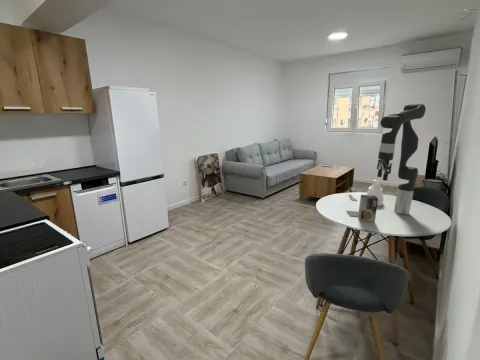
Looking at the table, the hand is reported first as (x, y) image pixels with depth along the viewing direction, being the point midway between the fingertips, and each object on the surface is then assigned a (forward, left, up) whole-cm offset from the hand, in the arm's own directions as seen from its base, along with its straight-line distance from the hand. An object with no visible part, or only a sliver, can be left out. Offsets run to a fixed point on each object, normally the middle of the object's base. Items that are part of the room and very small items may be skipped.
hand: (382, 178), depth 153 cm
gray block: (-19, -3, -30) cm, 36 cm away
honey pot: (-49, +16, -31) cm, 60 cm away
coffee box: (-10, -2, -31) cm, 32 cm away
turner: (-57, +2, -30) cm, 65 cm away
